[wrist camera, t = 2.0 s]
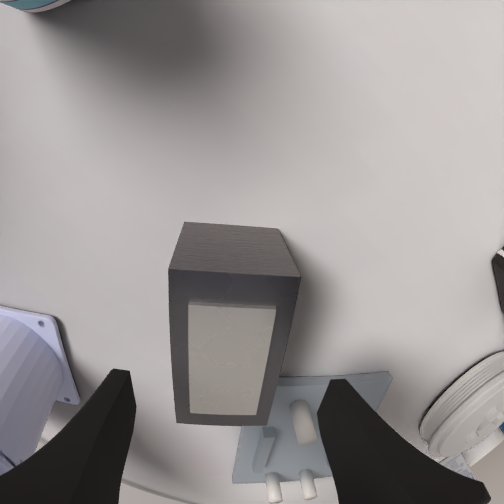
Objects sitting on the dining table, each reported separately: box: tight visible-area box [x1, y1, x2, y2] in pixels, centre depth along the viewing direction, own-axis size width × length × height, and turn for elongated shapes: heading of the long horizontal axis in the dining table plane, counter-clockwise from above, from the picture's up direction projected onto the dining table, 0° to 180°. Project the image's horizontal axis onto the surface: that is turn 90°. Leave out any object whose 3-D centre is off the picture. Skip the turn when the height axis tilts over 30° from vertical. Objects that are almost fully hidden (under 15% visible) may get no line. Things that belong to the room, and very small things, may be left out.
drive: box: [168, 222, 301, 426], centre depth 14 cm, size 4×8×5 cm, turn 174°
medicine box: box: [439, 453, 476, 480], centre depth 28 cm, size 8×4×9 cm, turn 35°
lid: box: [420, 351, 504, 457], centre depth 22 cm, size 13×13×5 cm
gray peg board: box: [232, 371, 393, 503], centre depth 21 cm, size 10×15×4 cm, turn 173°
